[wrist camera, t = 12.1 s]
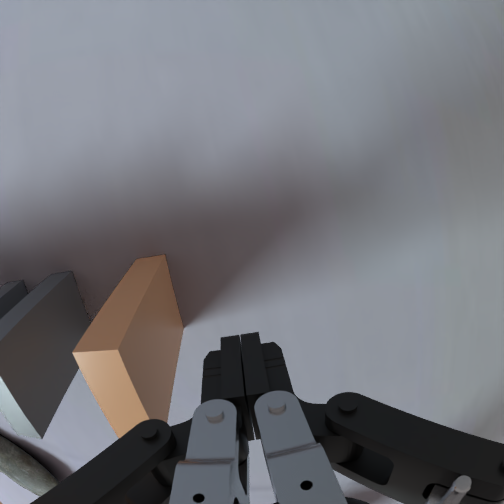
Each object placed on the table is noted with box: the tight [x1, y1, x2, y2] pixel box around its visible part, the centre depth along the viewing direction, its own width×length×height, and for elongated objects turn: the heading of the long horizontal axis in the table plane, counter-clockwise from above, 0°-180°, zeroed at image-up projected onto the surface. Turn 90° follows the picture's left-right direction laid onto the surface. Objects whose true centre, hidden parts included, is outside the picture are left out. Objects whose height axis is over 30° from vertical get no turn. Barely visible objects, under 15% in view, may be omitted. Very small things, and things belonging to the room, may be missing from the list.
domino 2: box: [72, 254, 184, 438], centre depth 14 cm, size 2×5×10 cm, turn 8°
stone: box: [0, 436, 60, 496], centre depth 23 cm, size 11×4×15 cm
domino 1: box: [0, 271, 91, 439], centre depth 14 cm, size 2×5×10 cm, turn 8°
